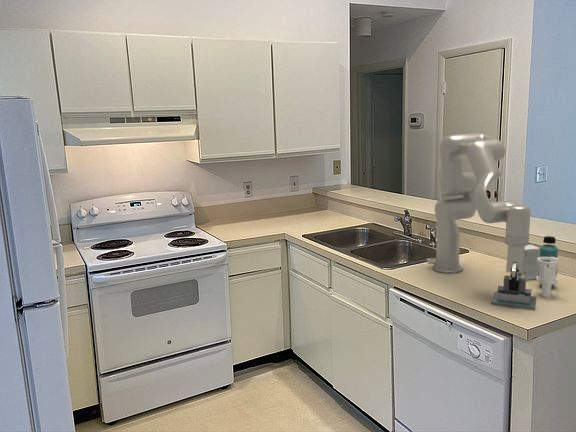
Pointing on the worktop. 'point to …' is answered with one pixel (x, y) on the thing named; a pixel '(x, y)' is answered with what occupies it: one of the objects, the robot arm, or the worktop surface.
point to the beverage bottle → (549, 251)
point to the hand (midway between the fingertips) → (514, 286)
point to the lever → (521, 286)
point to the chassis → (514, 300)
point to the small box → (530, 262)
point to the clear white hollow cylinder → (547, 274)
